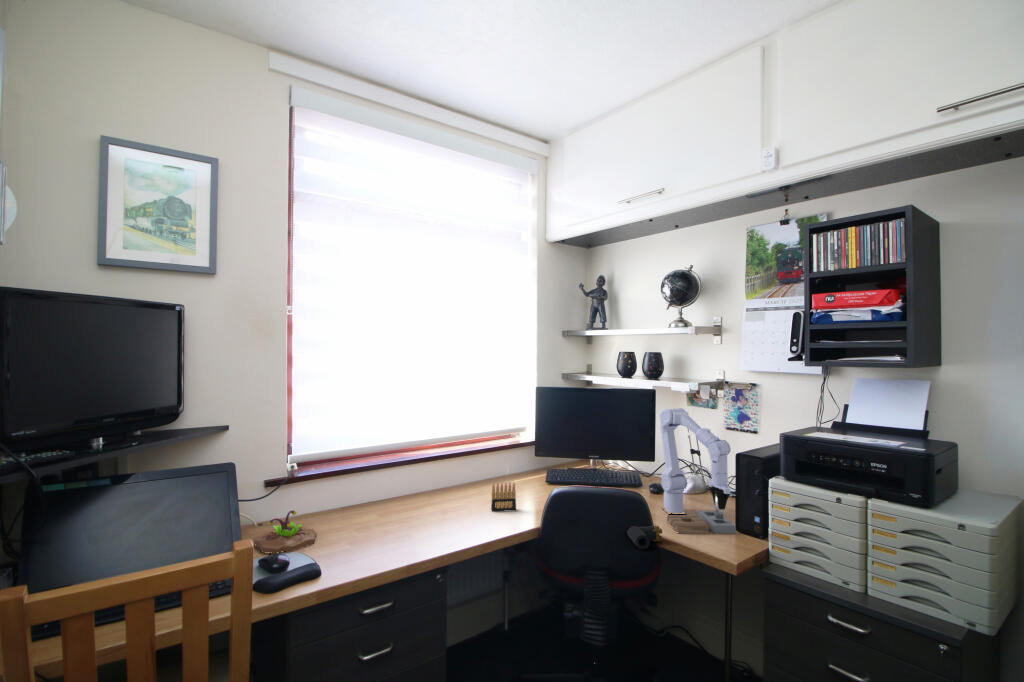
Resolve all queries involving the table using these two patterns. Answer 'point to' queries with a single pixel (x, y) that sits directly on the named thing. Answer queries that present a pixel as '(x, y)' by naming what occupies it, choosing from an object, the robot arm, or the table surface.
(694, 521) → the socket block
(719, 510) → the steel peg
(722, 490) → the robot arm
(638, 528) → the pipe connector
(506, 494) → the ammunition clip
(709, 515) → the tool rack
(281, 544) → the plant
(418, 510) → the table surface
